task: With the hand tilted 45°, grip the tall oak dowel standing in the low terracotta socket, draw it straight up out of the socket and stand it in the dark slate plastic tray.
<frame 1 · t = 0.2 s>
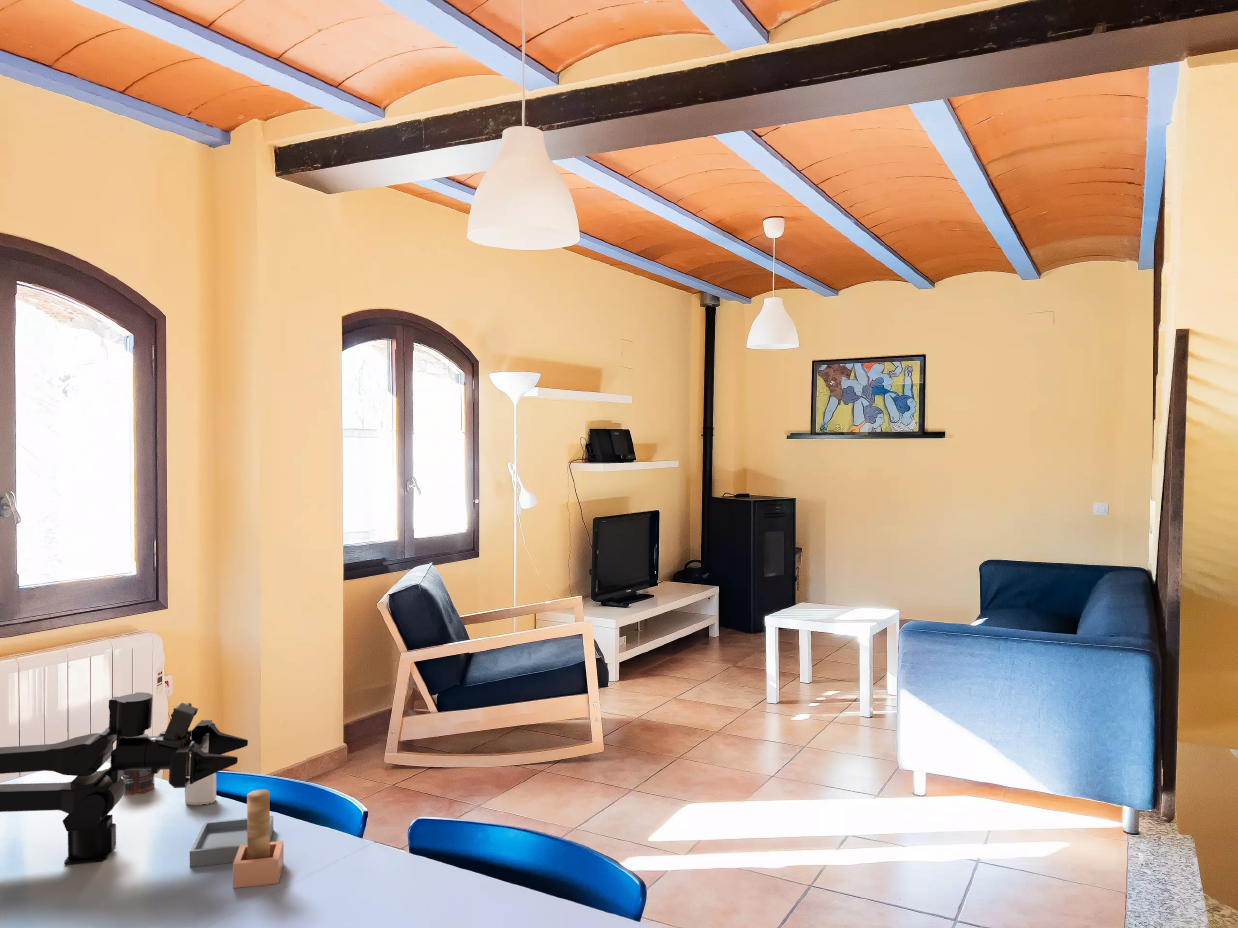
hand: (242, 751, 161), 17 cm above the table, tool horizontal, fingers open, 9 cm apart
terracotta socket: (258, 875, 149), on the table
eye dropper bottle: (200, 803, 179), on the table
supplement bottle: (138, 790, 185), on the table
oak dowel: (258, 834, 149), in the terracotta socket
tray: (233, 847, 159), on the table
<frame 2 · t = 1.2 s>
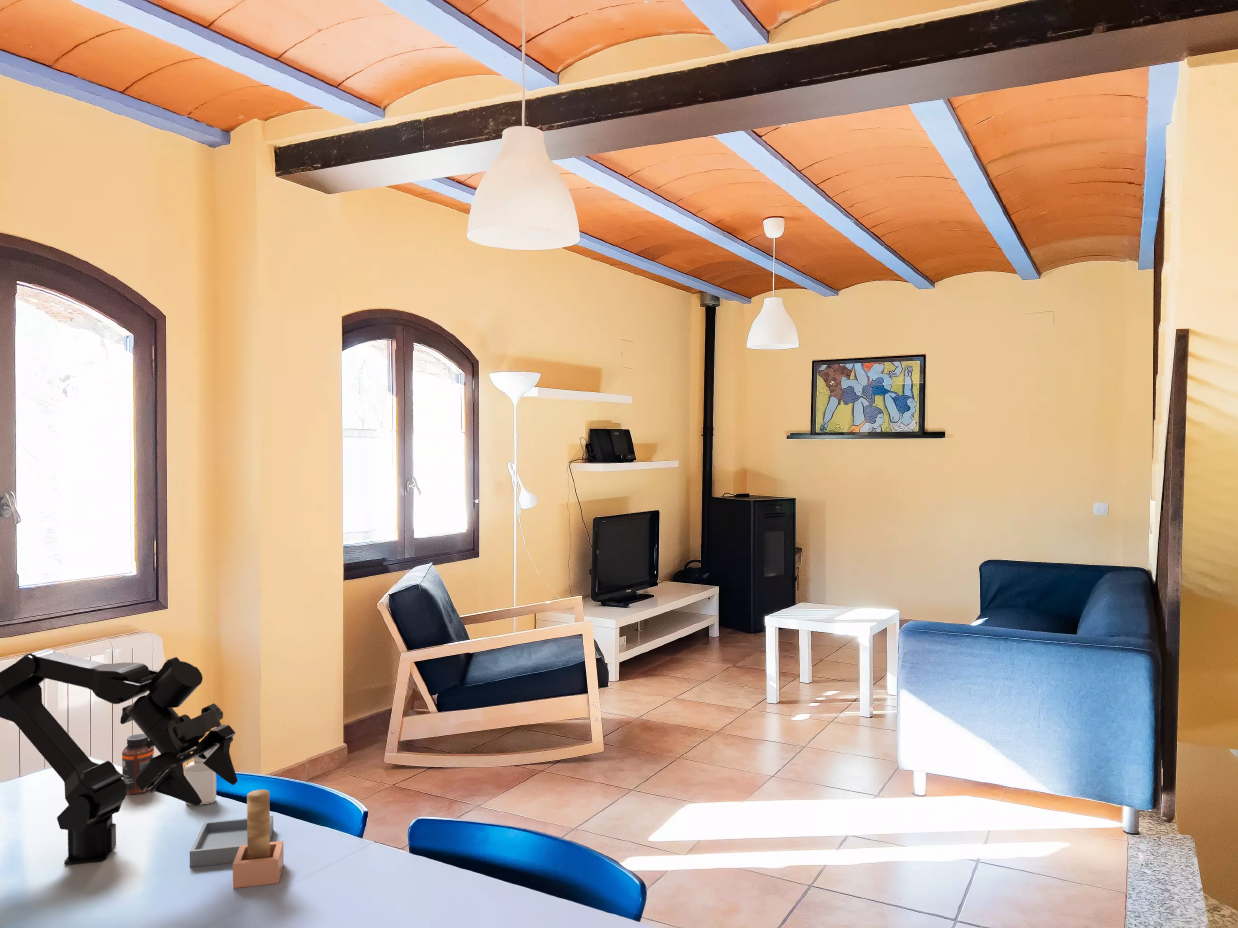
hand: (218, 793, 150), 13 cm above the table, tool tilted 45°, fingers open, 9 cm apart
nothing on the table moved.
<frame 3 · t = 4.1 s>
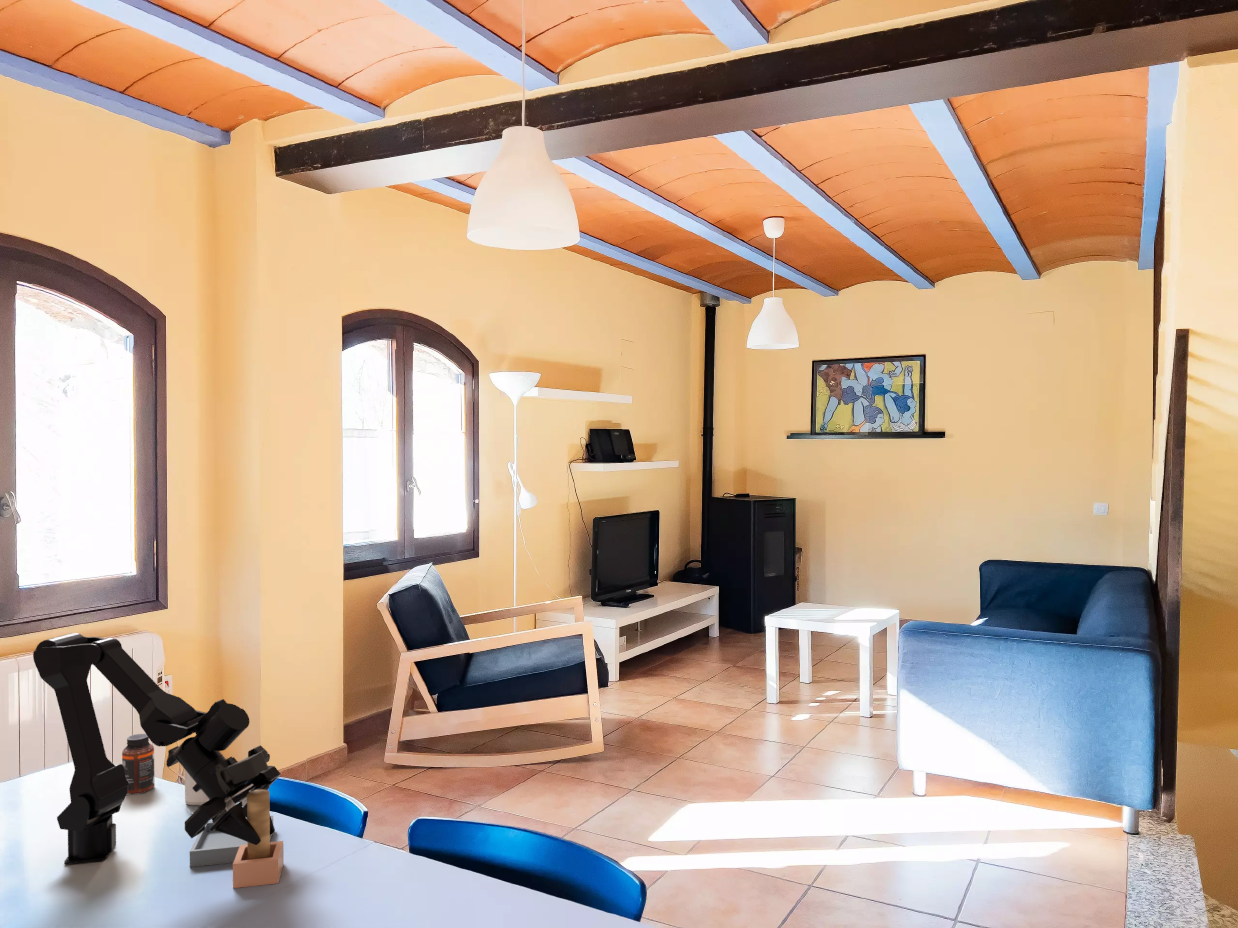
hand: (265, 837, 148), 7 cm above the table, tool tilted 45°, fingers closed on oak dowel, 3 cm apart
oak dowel: (258, 834, 149), in the terracotta socket, touching gripper
everything else where it was.
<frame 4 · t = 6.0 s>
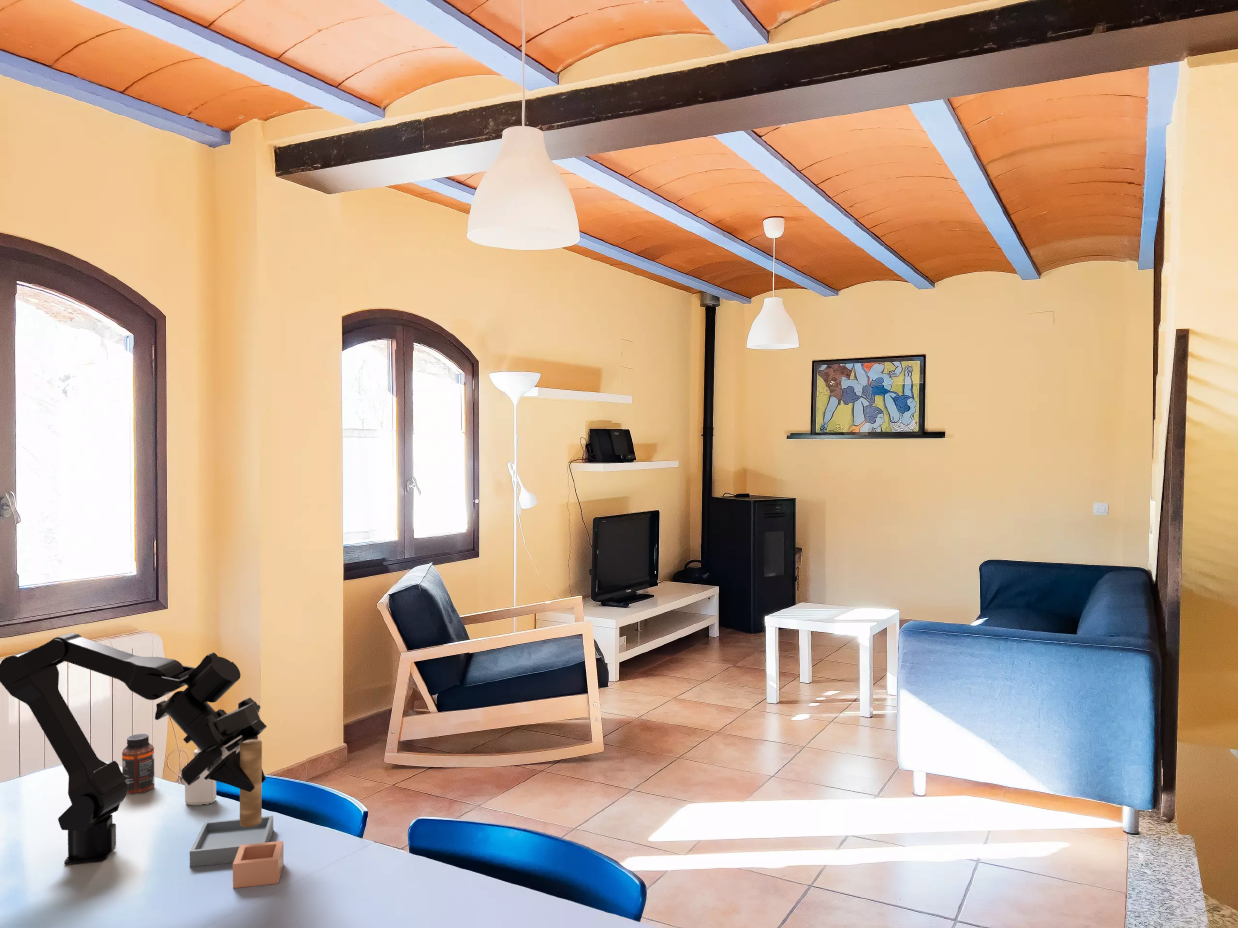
hand: (258, 785, 153), 14 cm above the table, tool tilted 45°, fingers closed on oak dowel, 3 cm apart
oak dowel: (250, 782, 153), point 14 cm above the table, touching gripper
everything else where it was.
when the fingers open (9 cm above the table, at t = 8.0 s): oak dowel drops 1 cm, resting on tray.
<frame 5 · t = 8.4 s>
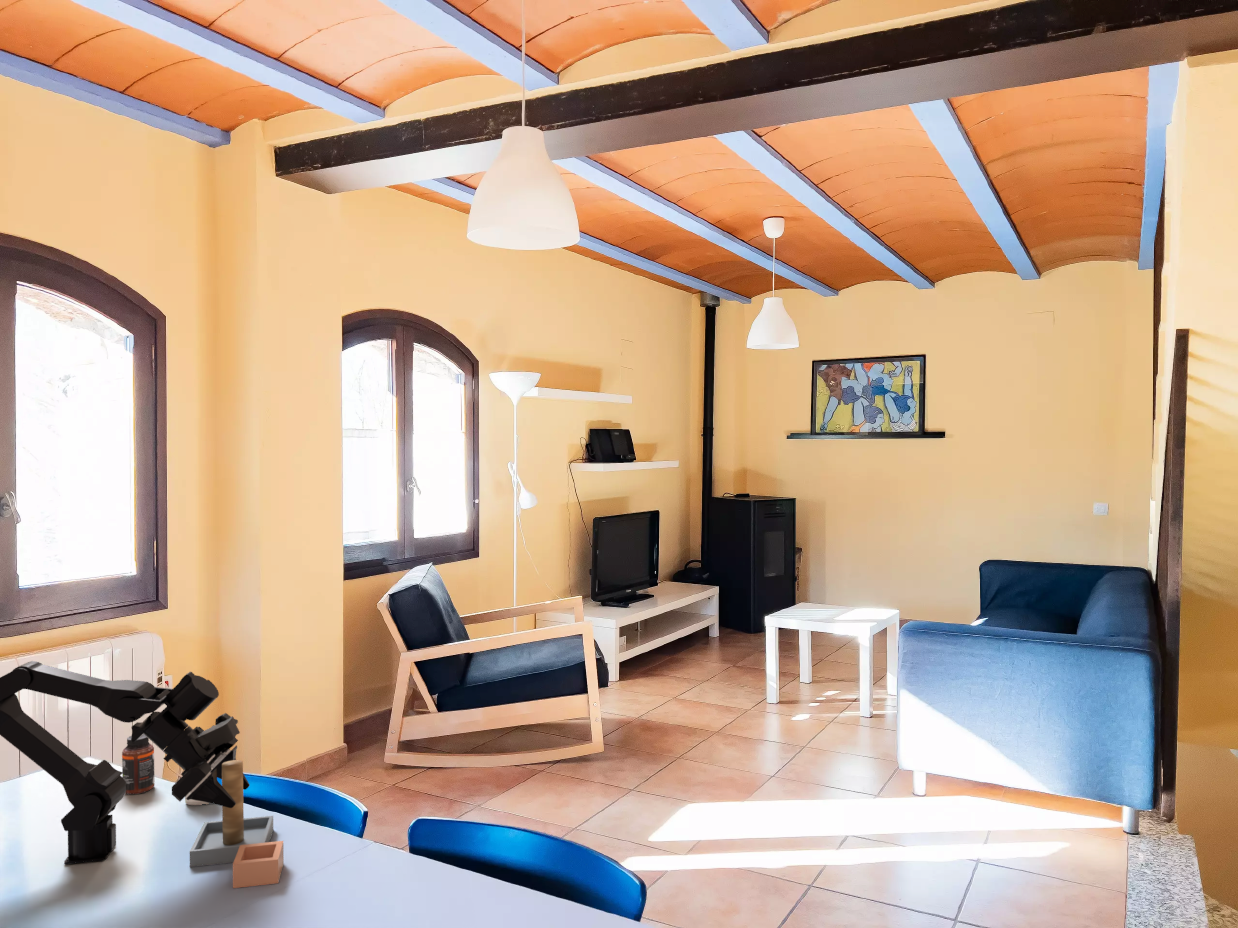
hand: (241, 796, 159), 9 cm above the table, tool tilted 45°, fingers open, 8 cm apart
oak dowel: (232, 801, 159), in the tray, point 8 cm above the table
everything else where it was.
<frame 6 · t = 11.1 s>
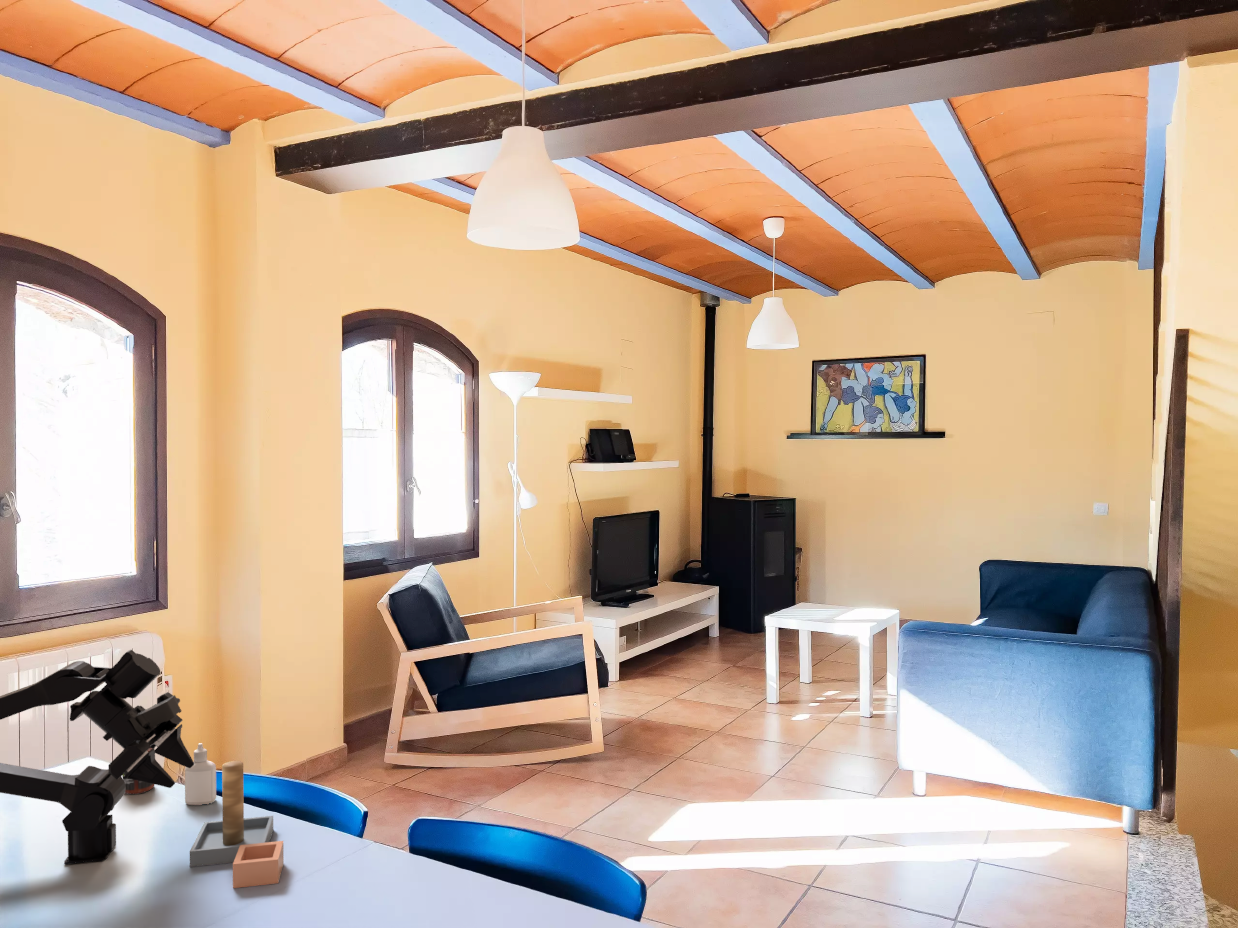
hand: (182, 775, 158), 13 cm above the table, tool tilted 45°, fingers open, 9 cm apart
nothing on the table moved.
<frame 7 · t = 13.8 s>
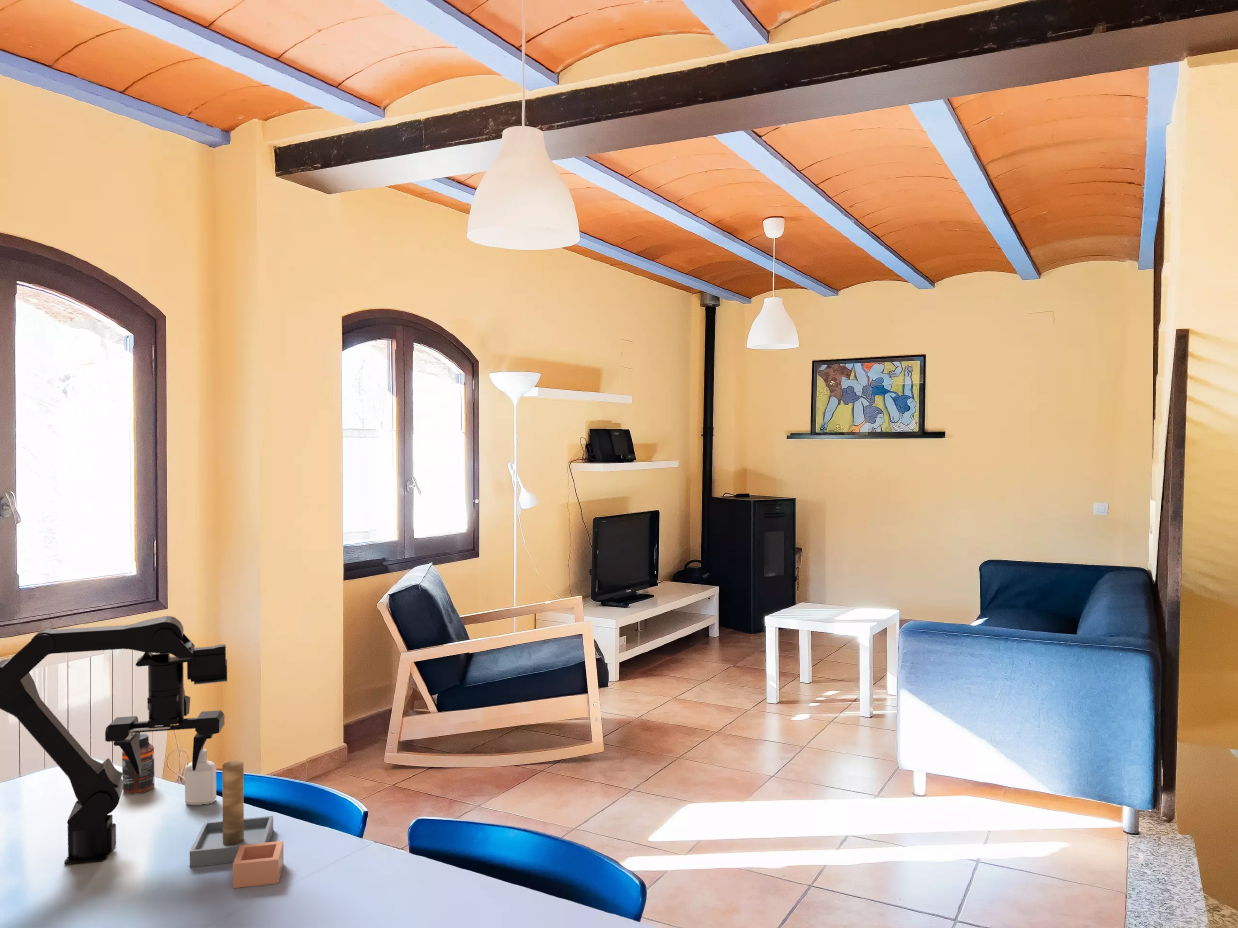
hand: (167, 771, 161), 13 cm above the table, tool pointing down, fingers open, 9 cm apart
nothing on the table moved.
at the end: oak dowel inside the target area on the tray (0.0 cm from its centre), point 8.2 cm above the tray's base; oak dowel moved 13.5 cm from its start; the gripper is holding nothing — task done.
